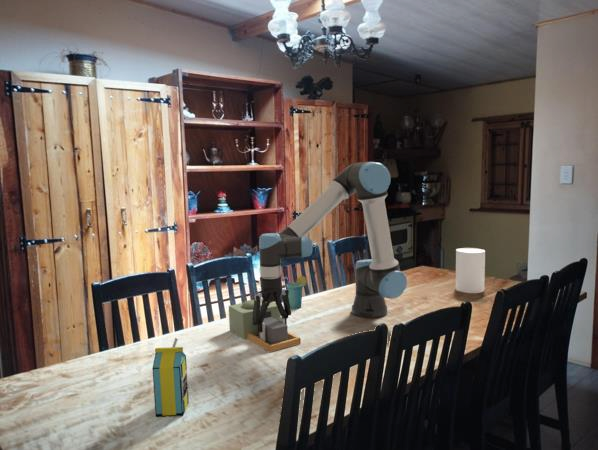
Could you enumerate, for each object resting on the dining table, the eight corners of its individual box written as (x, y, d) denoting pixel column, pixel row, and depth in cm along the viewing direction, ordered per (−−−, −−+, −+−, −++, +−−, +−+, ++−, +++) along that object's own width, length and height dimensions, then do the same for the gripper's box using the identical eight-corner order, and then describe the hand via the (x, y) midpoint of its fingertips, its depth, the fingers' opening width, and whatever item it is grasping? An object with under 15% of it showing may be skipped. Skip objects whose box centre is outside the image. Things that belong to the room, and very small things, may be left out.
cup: (286, 313, 200) (285, 279, 198) (276, 309, 206) (275, 276, 204) (311, 306, 208) (310, 274, 206) (300, 302, 214) (299, 271, 213)
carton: (190, 400, 126) (186, 337, 123) (184, 415, 118) (180, 348, 116) (162, 401, 125) (158, 338, 123) (155, 417, 118) (150, 349, 115)
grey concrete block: (272, 334, 175) (271, 316, 174) (287, 344, 165) (287, 325, 164) (258, 337, 172) (257, 319, 171) (273, 348, 162) (272, 328, 161)
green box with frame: (265, 322, 189) (264, 296, 187) (304, 342, 166) (303, 312, 164) (229, 330, 180) (228, 303, 178) (265, 353, 157) (264, 322, 155)
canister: (449, 288, 233) (450, 249, 231) (469, 284, 239) (470, 247, 237) (469, 294, 221) (470, 253, 219) (490, 290, 227) (491, 251, 224)
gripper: (289, 270, 174) (290, 328, 177) (240, 279, 163) (242, 340, 165) (300, 274, 168) (301, 334, 171) (250, 283, 156) (252, 347, 159)
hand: (272, 337), depth 168 cm, fingers open, 8 cm apart
